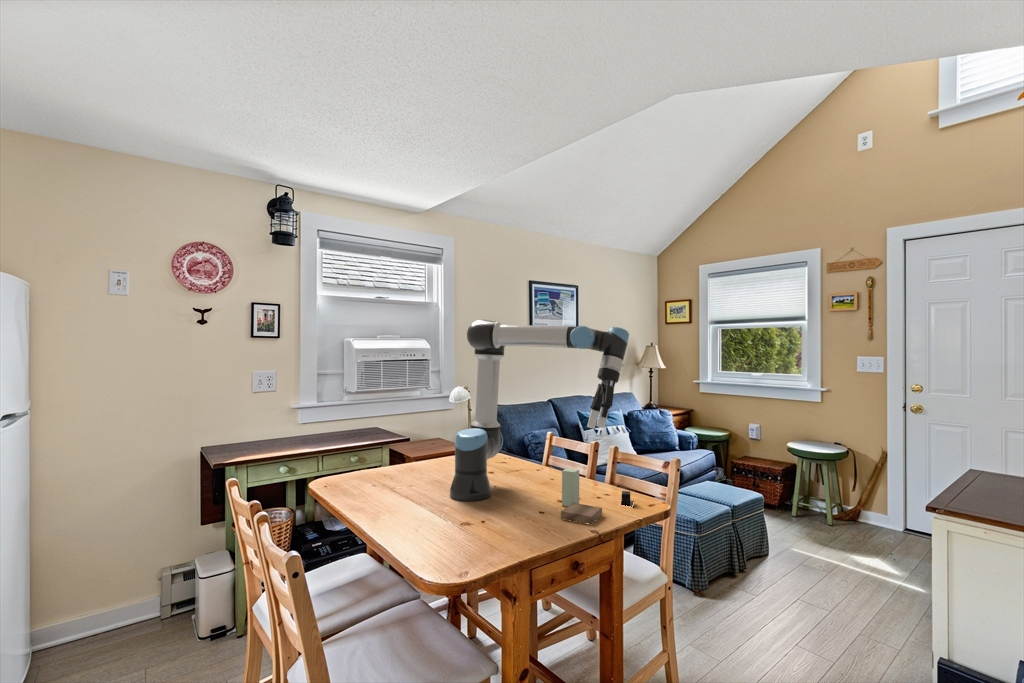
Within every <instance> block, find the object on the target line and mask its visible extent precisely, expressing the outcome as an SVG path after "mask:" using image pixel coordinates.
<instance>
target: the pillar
mask: <svg viewBox="0 0 1024 683" xmlns="http://www.w3.org/2000/svg"><path fill="white" fill-rule="evenodd" d="M572 503H577V504H580V469H579V468H569V467H567V468H565V469H563V470H562V471H561V506H562V505H564V506H563V507H565V506H569V505H571V504H572Z"/></svg>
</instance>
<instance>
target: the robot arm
mask: <svg viewBox="0 0 1024 683" xmlns="http://www.w3.org/2000/svg"><path fill="white" fill-rule="evenodd" d="M467 328H468V329H467V330H466V338H467V339H466V340H467V342H468V343H469V345H470V346H471V347H472V348H473V349H474V356H475V357H476V358H477V373H476V376H477V377H476V396H475V415H474V420H473V421H472V422H471V423H470V428H466V429H462V430H459V431H458V432H457V433H456V434H455V439H454V477H453V479H452V482H451V484H450V489H449V496H450V498H452V499H454V500H457V501H463V502H475V501H482V500H487V499H488V498H490V497H491V496H492V487H491V483H490V480H489V477H488V472H487V471H488V468H487V467H488V460H489V459H492V458H494V457H495V456H497V454H499V452H500V451H501V450H502V448H503V444H504V437H503V434H502V432H501V424H500V423H499V421H498V404H499V402H498V400H499V385H500V384H499V382H500V381H499V380H500V366H501V365H500V363H501V359H502V358H504V357H505V348H506V347H533V348H534V347H535V348H561V349H562V348H563V349H565V348H566V349H579V350H585V349H586V350H591V351H597V352H601V353H602V356H601V360H600V363H599V367H600V368H598V372H597V378H598V380H601V383H598V385H597V387H596V388H597V389H596V392H595V394H594V398H593V399H592V402H591V404H590V409H591V410H590V414H589V418H588V422H587V425H586V428H590V429H593V430H595V428H596V427H599V428H602V429H605V427H606V423H607V420H608V415H609V412H610V409H611V408H612V406H613V400H614V393H615V392H614V391H615V385H616V383H618V382H619V379H620V376H621V373H620V372H621V371H622V368H623V367H624V364H623V363H624V358H625V355H626V352H627V348H628V342H629V336H630V333H629V331H628V330H626V329H625V328H622V327H617V326H612V327H610V328H609V330H608V331H603V330H602V331H601V330H597V329H595V328H590V327H588V326H586V325H585V326H584V325H579V326H568V325H567V326H566V325H531V324H530V325H529V324H527V325H522V324H502V323H501V322H500V321H493V320H487V319H478V320H475V321H473V322H472V323H471V324H470V325H469V326H468V327H467Z"/></svg>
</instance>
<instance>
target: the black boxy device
mask: <svg viewBox="0 0 1024 683" xmlns="http://www.w3.org/2000/svg"><path fill="white" fill-rule="evenodd" d="M621 500H622V501H621V505H625V506H626V505H627V506H631V507H632V505H633V502H634V501H635V500H631V491H628V490H621Z"/></svg>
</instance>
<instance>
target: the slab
mask: <svg viewBox="0 0 1024 683" xmlns="http://www.w3.org/2000/svg"><path fill="white" fill-rule="evenodd" d="M601 515H602V516H603V507H599V506H593V505H587V504H582V503H579V504H577V503H572V504H571V505H569V506H568V507H565V508H564V509H562V510H561V511H560V520H562V519H566V520H565V521H567V520H571V521H570V522H572V521H577V522H582V523H581V524H583V523H589V524H592V523H593V522H594V521H595V520H597V519H598V518H599V517H600V516H601ZM602 516H601V517H602ZM601 517H600V518H601ZM600 518H599V519H600ZM599 519H598V520H599ZM598 520H597V521H598ZM577 522H576V523H577ZM595 522H596V521H595ZM595 522H594V523H595ZM594 523H593V524H594ZM593 524H592V525H593Z"/></svg>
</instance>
